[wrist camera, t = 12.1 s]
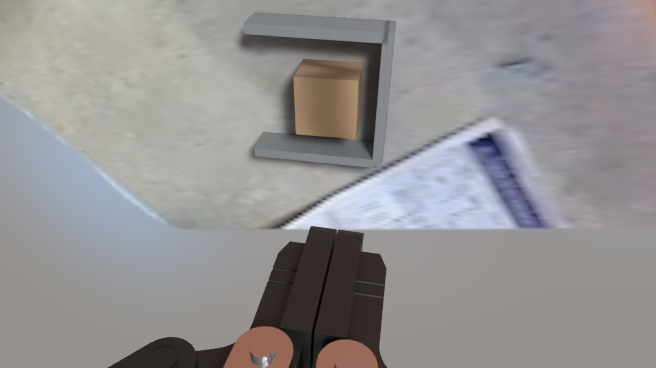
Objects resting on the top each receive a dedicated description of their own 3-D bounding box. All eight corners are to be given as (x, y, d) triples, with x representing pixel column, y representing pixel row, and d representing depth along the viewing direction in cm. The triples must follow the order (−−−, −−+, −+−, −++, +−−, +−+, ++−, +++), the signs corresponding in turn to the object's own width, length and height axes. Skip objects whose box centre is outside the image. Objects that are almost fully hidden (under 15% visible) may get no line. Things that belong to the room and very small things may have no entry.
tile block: (305, 112, 42) (295, 134, 39) (304, 58, 40) (293, 76, 36) (361, 117, 42) (356, 139, 39) (363, 61, 39) (358, 80, 36)
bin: (264, 139, 45) (254, 156, 42) (255, 12, 38) (243, 23, 35) (383, 151, 43) (381, 168, 41) (396, 21, 37) (394, 33, 34)
